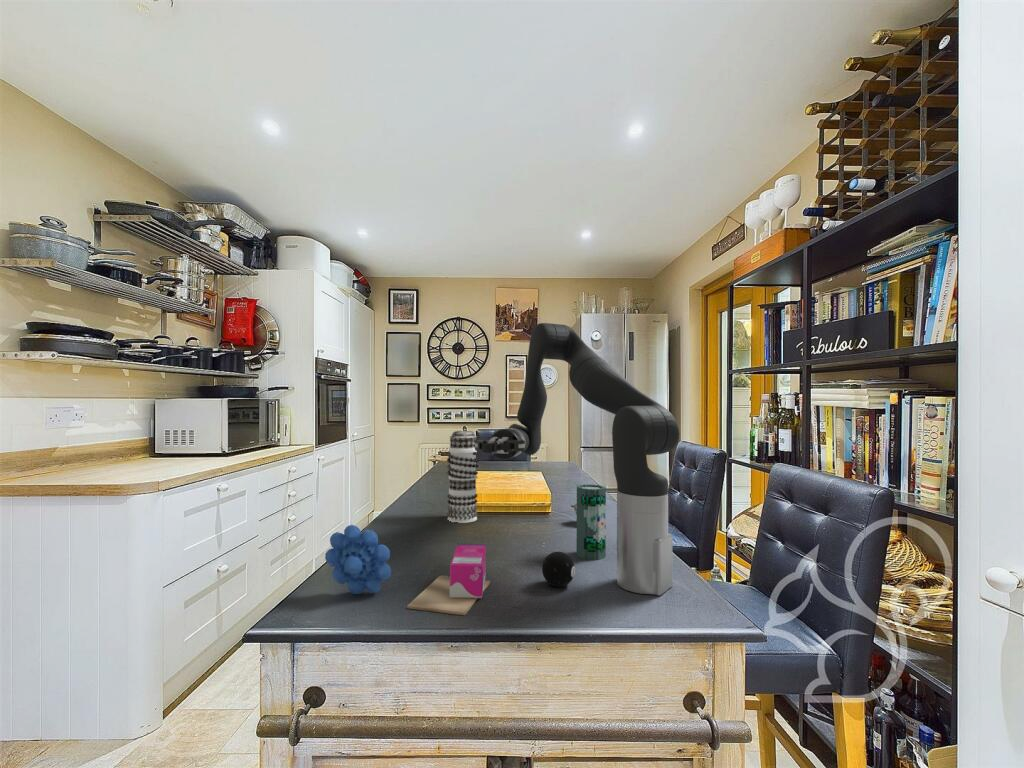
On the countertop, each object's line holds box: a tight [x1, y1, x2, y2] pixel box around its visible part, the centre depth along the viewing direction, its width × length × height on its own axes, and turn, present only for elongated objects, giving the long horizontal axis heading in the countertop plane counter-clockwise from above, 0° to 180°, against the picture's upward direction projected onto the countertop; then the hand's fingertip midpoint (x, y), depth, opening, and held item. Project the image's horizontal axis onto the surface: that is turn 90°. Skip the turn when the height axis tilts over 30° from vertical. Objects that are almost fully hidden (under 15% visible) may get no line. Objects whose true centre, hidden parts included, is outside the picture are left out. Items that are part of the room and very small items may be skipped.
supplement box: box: [449, 544, 487, 599], centre depth 87 cm, size 6×6×12 cm
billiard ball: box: [541, 551, 576, 587], centre depth 89 cm, size 6×6×6 cm
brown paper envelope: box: [406, 575, 491, 616], centre depth 84 cm, size 14×10×1 cm
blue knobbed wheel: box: [324, 524, 392, 596], centre depth 84 cm, size 12×7×12 cm, turn 89°
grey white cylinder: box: [446, 430, 480, 524], centre depth 138 cm, size 9×9×25 cm
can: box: [575, 483, 607, 561], centre depth 107 cm, size 6×6×15 cm
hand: (489, 448), depth 106 cm, fingers closed
